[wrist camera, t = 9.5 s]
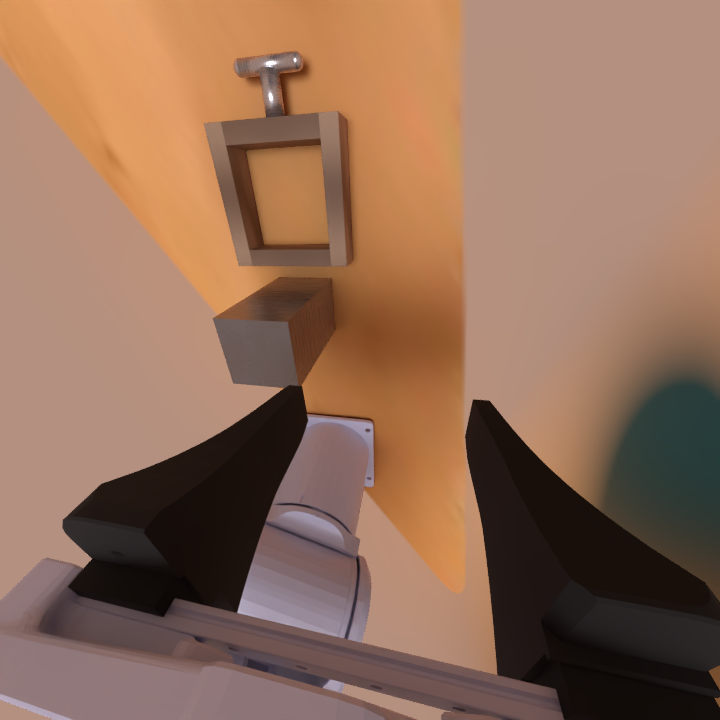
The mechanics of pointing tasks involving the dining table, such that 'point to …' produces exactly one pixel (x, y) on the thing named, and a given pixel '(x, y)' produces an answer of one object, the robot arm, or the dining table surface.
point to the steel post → (277, 331)
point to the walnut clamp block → (274, 133)
